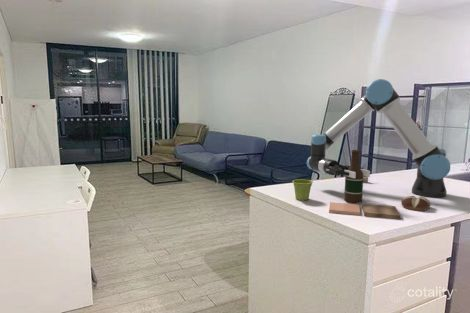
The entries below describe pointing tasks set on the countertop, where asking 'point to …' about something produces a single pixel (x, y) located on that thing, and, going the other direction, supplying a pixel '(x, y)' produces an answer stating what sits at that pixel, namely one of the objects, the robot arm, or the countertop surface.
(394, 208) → the walnut board
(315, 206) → the countertop surface
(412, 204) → the bread
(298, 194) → the plant pot
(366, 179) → the architectural model
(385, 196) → the countertop surface
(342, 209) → the terracotta tile
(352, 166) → the beer bottle
